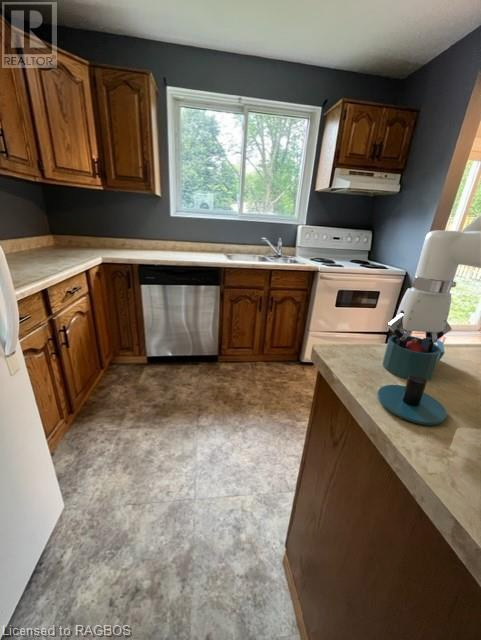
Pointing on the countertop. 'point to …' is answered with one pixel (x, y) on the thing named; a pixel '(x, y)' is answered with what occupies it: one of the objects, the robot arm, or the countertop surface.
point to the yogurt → (440, 345)
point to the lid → (412, 402)
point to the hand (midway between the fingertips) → (411, 353)
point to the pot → (410, 360)
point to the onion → (414, 346)
